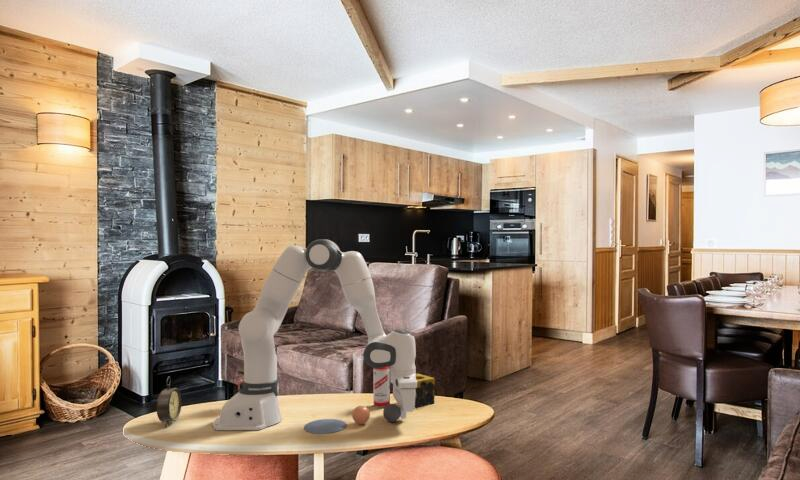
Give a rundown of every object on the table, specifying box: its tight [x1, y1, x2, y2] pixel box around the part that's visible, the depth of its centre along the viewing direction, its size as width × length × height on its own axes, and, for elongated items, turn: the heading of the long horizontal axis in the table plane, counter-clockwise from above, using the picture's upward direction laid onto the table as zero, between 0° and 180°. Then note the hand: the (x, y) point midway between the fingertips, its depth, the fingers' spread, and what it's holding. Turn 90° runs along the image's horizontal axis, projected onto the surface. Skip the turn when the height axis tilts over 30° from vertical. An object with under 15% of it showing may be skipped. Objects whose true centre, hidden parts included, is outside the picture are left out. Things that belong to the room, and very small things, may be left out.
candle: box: [414, 373, 435, 409], centre depth 192 cm, size 10×10×10 cm
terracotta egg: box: [351, 405, 371, 425], centre depth 168 cm, size 6×6×6 cm
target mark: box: [304, 418, 347, 435], centre depth 166 cm, size 14×14×1 cm
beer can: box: [372, 366, 391, 409], centre depth 189 cm, size 6×6×16 cm
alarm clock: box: [156, 376, 182, 429], centre depth 170 cm, size 11×5×16 cm, turn 3°
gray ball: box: [382, 403, 401, 423], centre depth 170 cm, size 6×6×6 cm
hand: (402, 417), depth 171 cm, fingers closed
